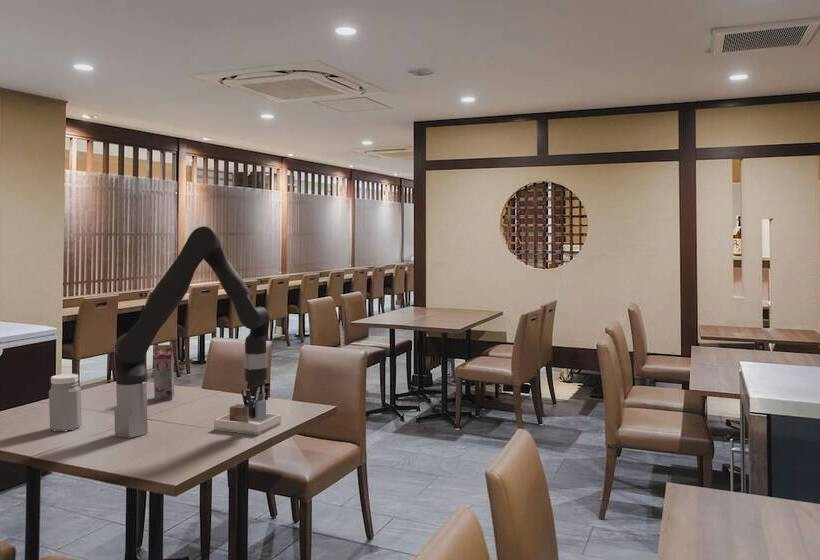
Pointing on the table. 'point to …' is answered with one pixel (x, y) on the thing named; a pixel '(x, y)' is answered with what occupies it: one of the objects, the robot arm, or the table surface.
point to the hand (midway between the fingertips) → (256, 415)
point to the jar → (65, 402)
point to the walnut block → (238, 413)
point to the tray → (247, 424)
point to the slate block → (258, 410)
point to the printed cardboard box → (163, 372)
